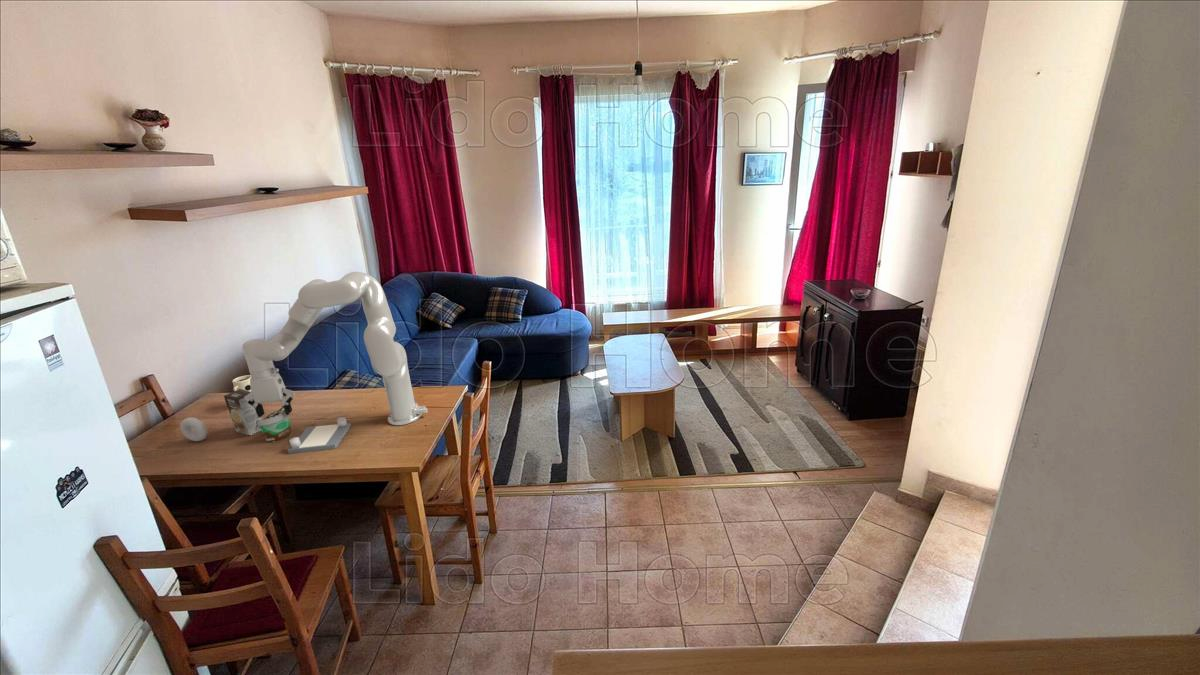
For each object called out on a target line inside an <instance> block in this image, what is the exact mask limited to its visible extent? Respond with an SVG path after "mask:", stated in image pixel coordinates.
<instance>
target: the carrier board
mask: <svg viewBox="0 0 1200 675" xmlns="http://www.w3.org/2000/svg"><path fill="white" fill-rule="evenodd" d="M336 422H337V423H335V424H328V425H317V426H309V427H306V428H305V430H303V432H302V433H301V435H299V436H294V437H292V438H289V444H290V447H289V448H287V452H288V454H289V455H290V454H300V453H308V452H317V451H325V450H333V449H336V448H338V446H339V444H340V443H341V442H342V440H343V439H344V437H345V436H344V435H346V434H347V433H348V431H349V430H350V428H351V427H352V424H351V422H347V419H346V417H345V416H341V417H338V418H337V419H336ZM350 426H351V427H350ZM349 427H350V428H349ZM348 429H349V430H348ZM346 432H347V433H346ZM342 438H343V439H342Z"/></svg>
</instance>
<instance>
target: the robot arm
mask: <svg viewBox="0 0 1200 675" xmlns="http://www.w3.org/2000/svg"><path fill="white" fill-rule="evenodd" d="M359 298H360V301H361V304H362V305H361V306H362V308H363V312H364V314H365V318H366V322H367V326H366V328H365V329H364V333H363V341H364V342H363V343H364V345H365V348H366V351H367V353H368V354H367V355H368V356H369V357H368V358H369V360H370V363H371V366H372V369H373V370H374V371H375V372H376V374H378V375H379V376H381V377H382V382H383V385H384V389H385V394H386V395H385V396H386V399H387V404H388V407H389V411H390V415H388V416H387V422H388V424H390V425H392V426H403V425H408V424H411V423H414V422H415V421H417V420H418V419H420V418H421V416H422V415H423V414H424V413H425V414H426V413H428V412H429V411H428V407H427V406H426V405H421V406H420V405H419V404H418V403H419V402H415V395H414V392H413V386H412V382H411V377H410V373H409V372H410V371H409V365H408V357H407V352H406V350H405V347H404V346H403V345H402V344H401V343H400V342H397V341H395V340H394V337H395V335H396V331H397V326H396V324H395V322H394V319H393V316H392V312H391V309H390V306H389V304H388V300H387V297H386V292H385V291H384V289H383V286H382V285H381V283H380V282H379V281H378V280H377V279H375V277H373V276H372V275H370V274H367V273H365V272H362V271H352V272H351V271H350V272H349V273H347V274H345V275H344V276H342V277H341V278H340V279H338V280H332V281H326V280H324V279H320V278H318V279H312V280H310V281H309V282H308V283H306V284H304V285H303V286H302V287H301V288H300V289H299V291H298V293H297V299H296V300H295V302H294V303H293V304H292V305H291V307H290V309H288V310H289V311H288V319H287V321H286V322H285V324H284V325H283V327H282V329H281V330H280V331H279V332H278V334H277V335H275V336H274V337H273V338H272V339H271V340H268V341H267V340H266V339H263V338H252V339H250V340H249V339H248V340H247V341H245V342H243V344H242V352H243V356H244V358H245V361H246V364H247V367H248V371H249V373H250V374H249V375H251V378H250V387H251V393H249V394H248V395H246V396H245V397H244V399H245V400H246V401H247V402H248V404H250V405H252V406H253V408H255V410H256V413H257V414H258V417H261V418H262V417H263V416H264V415H265V410H264V406H263V403H264V404H265V403H274V402H275V403H276V402H281V403H282V404H283V406H284V410H285V413H286V415H290V413H292V411H293V408H292V407H293V406H292V404H291V402H292V401H293V400H294V399H295V395H296V391H294V390H291V389H287V388H286V385H285V383H284V380H283V378H282V376H281V375H280V373H279V371H280V369H279V368H276V366H275V365H274V362H277V361H282V360H284V359H286V358H287V357H288V356H289V355H290V354H291V353H292V352H293V351H294V350H296V348H297V347H298V346H299V344H300V343H301V342H302V340H303V339H304V337H305V335H306V334H307V333H308V331H309V329H311V327H312V325H313V324H314V323H315V321H316V320H317V318H318V317H319V315H320V314H321V312H322V311H323V310H324V309H325V308H331V307H335V306H336V307H337V306H342V305H347V304H351V303H354V302H356V301H357V300H359ZM288 395H289V397H288ZM251 397H253V399H251Z"/></svg>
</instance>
